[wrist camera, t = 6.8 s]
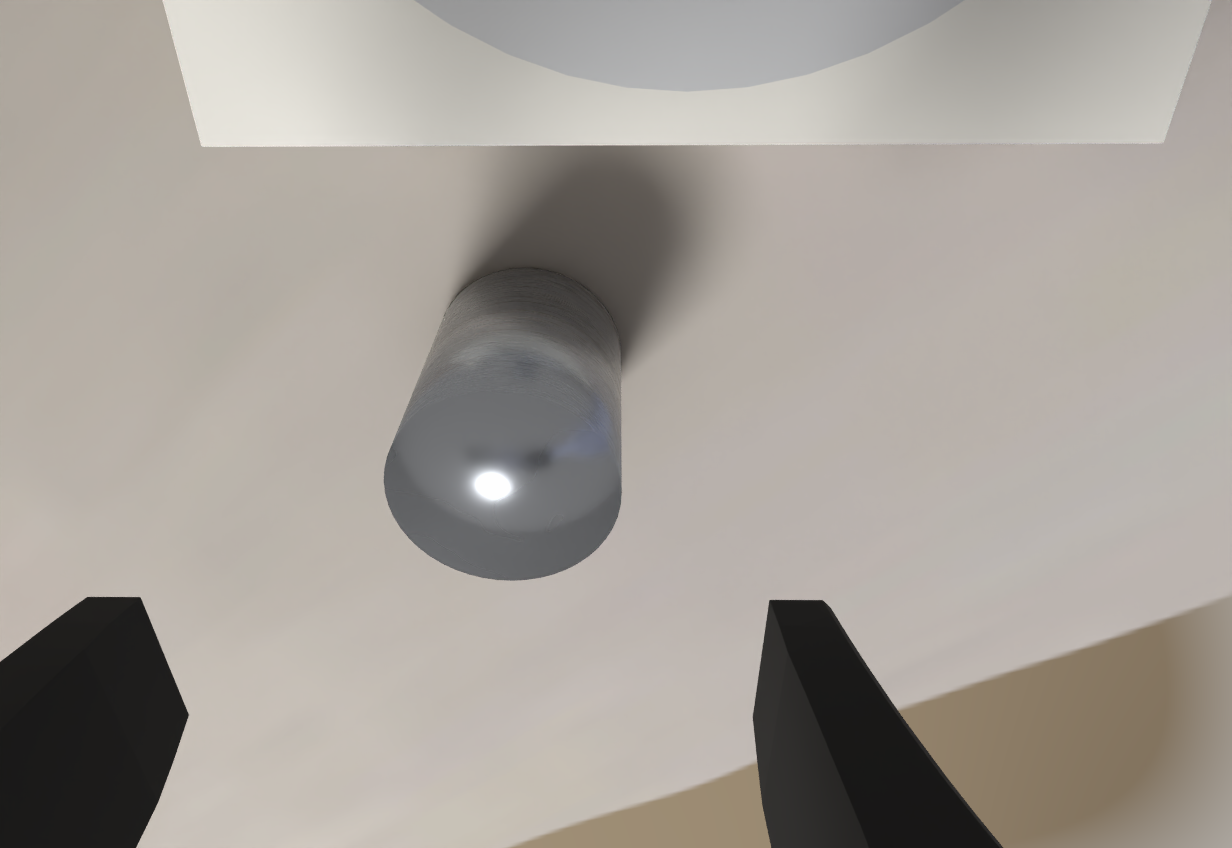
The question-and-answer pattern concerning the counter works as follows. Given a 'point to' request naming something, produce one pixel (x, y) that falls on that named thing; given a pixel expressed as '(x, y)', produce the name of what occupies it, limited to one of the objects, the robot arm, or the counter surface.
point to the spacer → (513, 430)
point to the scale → (682, 71)
